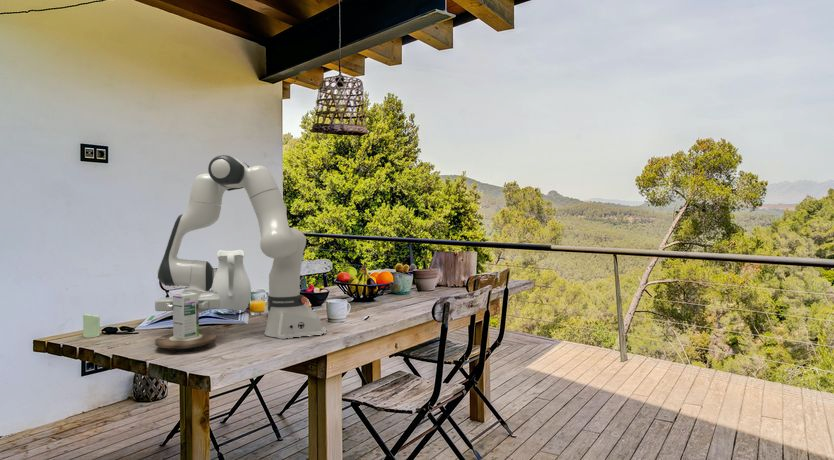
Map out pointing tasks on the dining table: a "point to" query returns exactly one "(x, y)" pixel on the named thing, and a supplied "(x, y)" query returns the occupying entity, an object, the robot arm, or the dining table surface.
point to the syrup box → (185, 315)
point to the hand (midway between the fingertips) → (185, 307)
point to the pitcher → (232, 281)
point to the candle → (91, 326)
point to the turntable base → (185, 348)
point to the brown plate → (185, 340)
